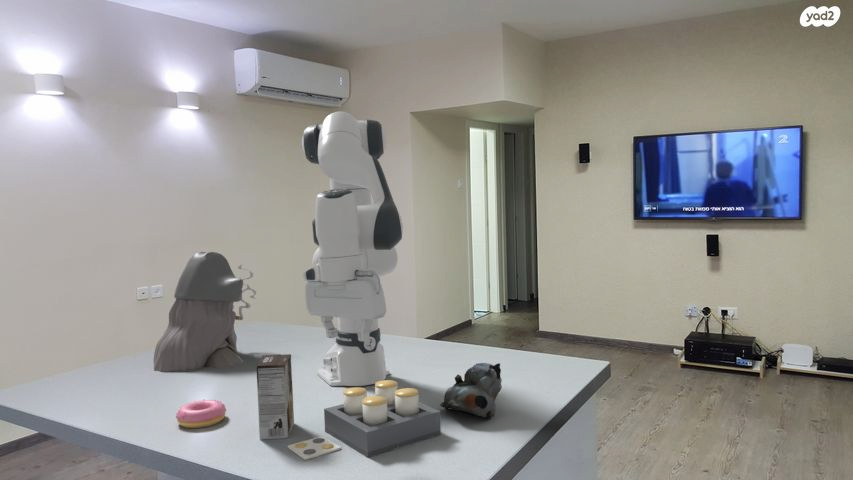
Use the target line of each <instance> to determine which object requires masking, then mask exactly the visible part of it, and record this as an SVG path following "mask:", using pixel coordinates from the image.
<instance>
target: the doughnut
mask: <svg viewBox="0 0 853 480" xmlns="http://www.w3.org/2000/svg"><path fill="white" fill-rule="evenodd" d="M226 412H227V409H226V405H225V404H224V403H223V402H222V401H219V400H216V399H202V400H195V401H191V402H189V403H186V404H184V405H182V406H181V407H180V408H179V409H178V410H177V412H176V414H175V418H176V421H177V423H178V425H180V426H181V427H183V428H187V429H201V428H207V427H210V426H214V425H217V424H218V423H220V422H221V421H222V420H224V418H225V416H226Z"/></svg>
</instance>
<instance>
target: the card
mask: <svg viewBox="0 0 853 480" xmlns="http://www.w3.org/2000/svg"><path fill="white" fill-rule="evenodd" d="M287 448H288V449H289V450H291V451H292V452H293V453H294V454H295V455H297V456H299V457H300V458H301V459H303V460H304V461H306V460H309V459H313V458H316V457H319V456H320V457H321V456H323V455H326V454H330V453H333V452H336V451H339V450H342V446H340V445H338V444H336V442H334V441H332V440H331V439H329V438H327V437H325V436H324V435H320V436H318V437H314V438H309V439H306V440H303V441H299V442H297V443H292V444H289V445H287Z"/></svg>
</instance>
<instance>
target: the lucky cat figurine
mask: <svg viewBox="0 0 853 480" xmlns="http://www.w3.org/2000/svg"><path fill="white" fill-rule="evenodd" d="M501 372H502V369H501V363H500V362H499V363H496V364H492V363H489V362H480V363H476V364H473V366H471V367H469V368H468V369H467V370H466V372H465V373H464V377H463V378H462V375H460V374H456V375H455V377H454V381H455V383H454V384H453V386H450V387H448V389H447V390H446V391H445V392H444V396H443V401H442V402H440V404H439V406H440V407H441V408H444V409H445V410H447V411H449V410H454V411H462V412H466V413H469V414H472V415H475V416H478V417H483V418H485V419H486V420H492V419H493V417H494V416H495V412H496V402H495V400H496V398H497V397H498V395H499V393H500V392H501V391H502V389H503V385H502V382H503V381H502V380H503V379H502V377H501Z"/></svg>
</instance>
